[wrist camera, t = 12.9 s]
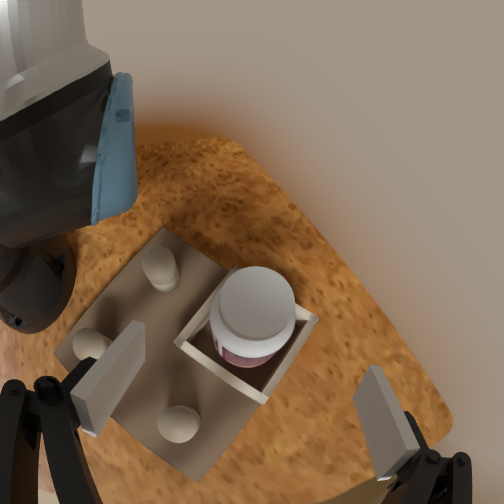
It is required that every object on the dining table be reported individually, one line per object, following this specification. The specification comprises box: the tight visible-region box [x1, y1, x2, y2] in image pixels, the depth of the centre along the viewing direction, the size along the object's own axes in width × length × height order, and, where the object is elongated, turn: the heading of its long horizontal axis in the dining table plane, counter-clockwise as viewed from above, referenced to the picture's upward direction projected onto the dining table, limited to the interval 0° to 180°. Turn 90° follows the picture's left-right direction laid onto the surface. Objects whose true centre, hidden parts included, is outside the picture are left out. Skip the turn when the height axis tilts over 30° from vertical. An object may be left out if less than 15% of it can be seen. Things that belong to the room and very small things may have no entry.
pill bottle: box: [209, 266, 296, 368], centre depth 21 cm, size 6×6×11 cm
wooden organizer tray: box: [53, 227, 319, 483], centre depth 24 cm, size 20×20×7 cm
